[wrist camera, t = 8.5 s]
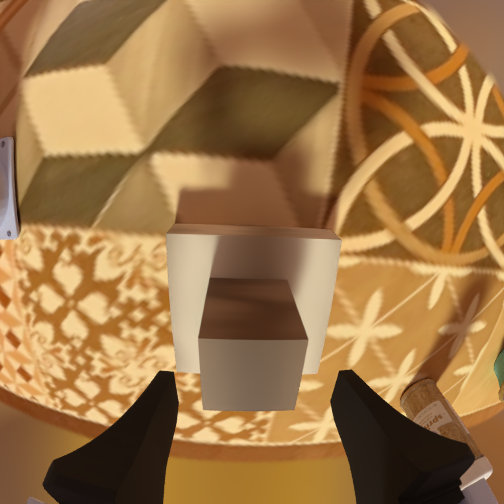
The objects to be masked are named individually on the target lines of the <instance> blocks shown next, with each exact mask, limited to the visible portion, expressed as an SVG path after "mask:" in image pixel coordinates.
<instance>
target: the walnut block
mask: <svg viewBox="0 0 504 504" xmlns="http://www.w3.org/2000/svg"><path fill="white" fill-rule="evenodd" d="M308 340H309V339H308V336H307V334H306V331H305V328H304V325H303V322H302V319H301V317H300V314H299V311H298V308H297V306H296V303H295V300H294V297H293V295H292V292H291V289H290V286H289V284H288V281H287V280H273V279H234V278H209V283H208V288H207V293H206V298H205V303H204V309H203V314H202V319H201V325H200V330H199V335H198V348H199V364H200V378H201V391H202V403H203V410H215V411H284V410H294V409H295V405H296V400H297V396H298V391H299V387H300V382H301V377H302V372H303V367H304V362H305V357H306V351H307V346H308Z"/></svg>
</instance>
